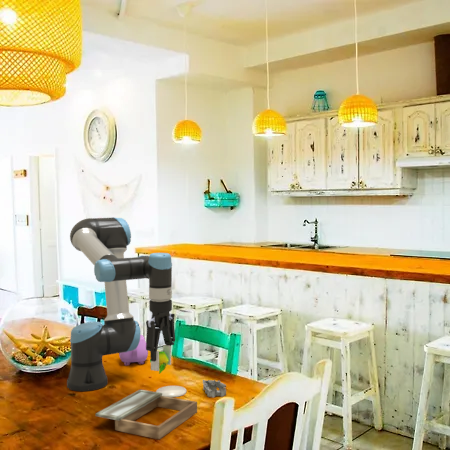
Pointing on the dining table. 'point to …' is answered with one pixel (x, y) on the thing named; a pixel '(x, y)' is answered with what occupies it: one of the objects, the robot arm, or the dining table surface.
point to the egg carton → (214, 388)
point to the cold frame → (142, 404)
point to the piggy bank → (135, 353)
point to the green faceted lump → (162, 361)
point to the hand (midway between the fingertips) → (161, 366)
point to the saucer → (172, 391)
